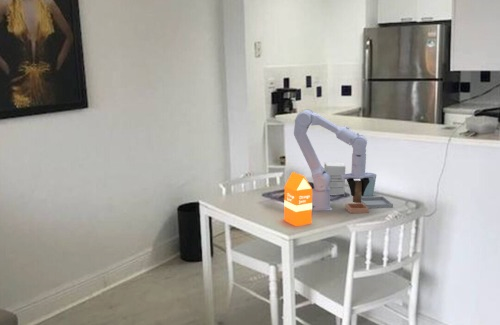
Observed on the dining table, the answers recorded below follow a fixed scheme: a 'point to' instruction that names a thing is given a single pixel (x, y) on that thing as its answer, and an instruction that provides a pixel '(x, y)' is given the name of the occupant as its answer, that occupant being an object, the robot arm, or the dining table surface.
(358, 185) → the peg
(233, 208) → the dining table surface
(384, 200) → the tray
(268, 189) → the dining table surface
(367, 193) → the cup
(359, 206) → the orange square open box
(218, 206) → the dining table surface
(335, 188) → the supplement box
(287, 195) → the orange juice
